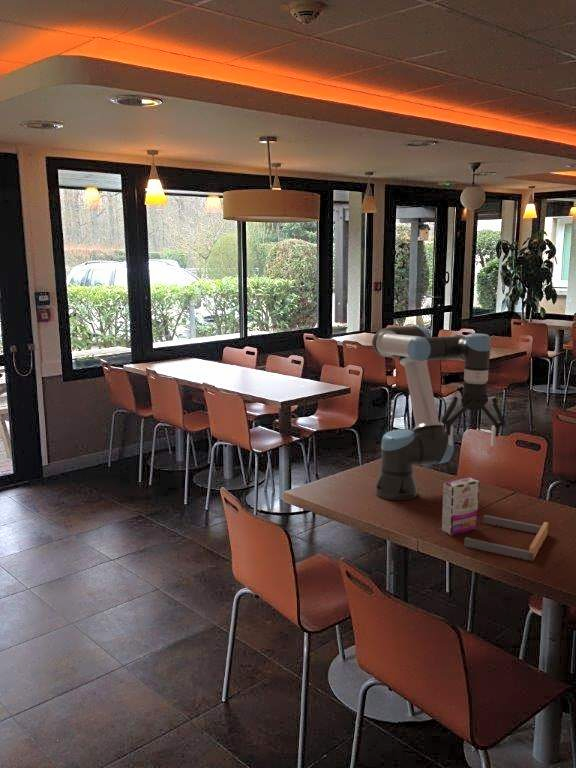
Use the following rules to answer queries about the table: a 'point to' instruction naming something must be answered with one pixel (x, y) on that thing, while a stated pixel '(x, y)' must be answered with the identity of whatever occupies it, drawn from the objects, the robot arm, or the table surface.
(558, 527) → the table surface
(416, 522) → the table surface
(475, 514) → the candy bar box
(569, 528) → the table surface
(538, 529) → the u-shaped frame
